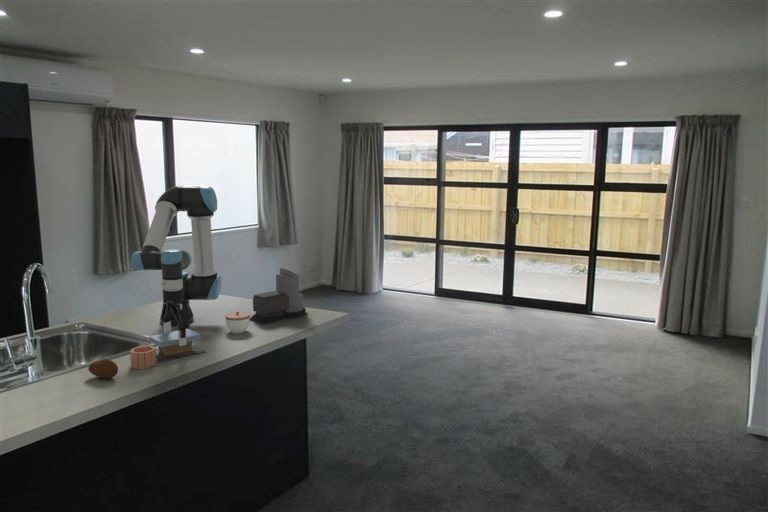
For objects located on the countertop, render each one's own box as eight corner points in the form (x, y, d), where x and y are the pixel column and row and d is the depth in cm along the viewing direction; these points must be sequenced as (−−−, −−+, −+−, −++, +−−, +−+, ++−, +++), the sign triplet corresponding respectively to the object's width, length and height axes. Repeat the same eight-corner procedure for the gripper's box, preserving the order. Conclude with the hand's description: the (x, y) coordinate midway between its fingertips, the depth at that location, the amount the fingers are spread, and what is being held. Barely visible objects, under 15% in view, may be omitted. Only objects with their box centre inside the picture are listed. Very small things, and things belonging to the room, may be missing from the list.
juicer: (294, 308, 298) (293, 262, 295) (314, 314, 288) (313, 266, 284) (245, 319, 276) (244, 270, 272) (265, 326, 266) (264, 274, 262)
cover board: (149, 341, 225) (149, 336, 224) (188, 333, 236) (188, 328, 235) (161, 347, 217) (160, 342, 217) (200, 339, 228) (200, 334, 228)
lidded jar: (243, 335, 250) (243, 315, 249) (221, 334, 252) (220, 313, 251) (254, 329, 260) (253, 309, 259) (232, 327, 262) (232, 307, 261)
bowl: (127, 364, 213) (126, 349, 212) (150, 359, 219) (149, 344, 218) (136, 370, 207) (135, 354, 206) (159, 365, 213) (159, 349, 212)
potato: (97, 373, 204) (96, 354, 203) (125, 376, 201) (124, 357, 200) (84, 379, 197) (82, 360, 196) (112, 383, 195) (111, 363, 194)
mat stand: (145, 352, 227) (144, 340, 226) (188, 342, 239) (187, 331, 238) (161, 362, 215) (161, 349, 215) (206, 352, 228) (205, 340, 227)
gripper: (150, 285, 229) (152, 336, 232) (177, 295, 212) (179, 350, 215) (168, 283, 235) (170, 333, 238) (196, 293, 217) (198, 346, 220)
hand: (175, 341), depth 226 cm, fingers open, 13 cm apart
